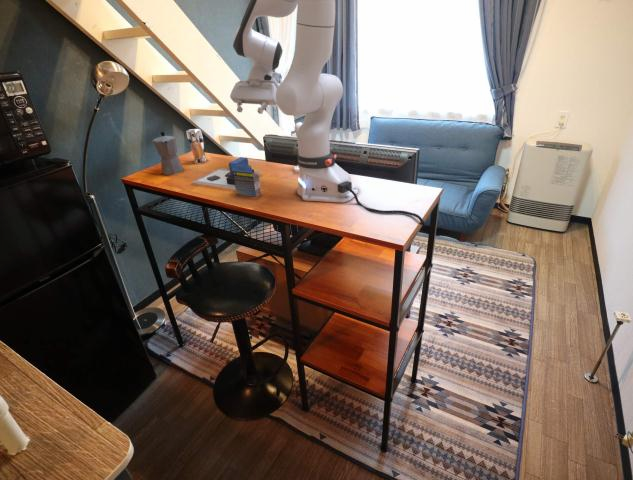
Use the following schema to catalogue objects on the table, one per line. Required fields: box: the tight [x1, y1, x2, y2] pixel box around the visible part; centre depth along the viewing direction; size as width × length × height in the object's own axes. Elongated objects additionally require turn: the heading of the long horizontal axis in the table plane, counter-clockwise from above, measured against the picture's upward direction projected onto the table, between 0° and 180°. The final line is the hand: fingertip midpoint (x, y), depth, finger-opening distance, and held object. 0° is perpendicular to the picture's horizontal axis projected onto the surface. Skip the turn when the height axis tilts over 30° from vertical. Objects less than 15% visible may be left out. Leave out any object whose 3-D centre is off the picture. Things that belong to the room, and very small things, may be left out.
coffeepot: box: [152, 131, 184, 176], centre depth 152 cm, size 15×9×18 cm, turn 27°
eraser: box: [226, 156, 255, 185], centre depth 138 cm, size 5×12×8 cm, turn 154°
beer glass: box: [185, 128, 208, 165], centre depth 163 cm, size 7×7×15 cm
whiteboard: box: [192, 167, 261, 190], centre depth 143 cm, size 22×18×1 cm
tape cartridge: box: [231, 164, 262, 197], centre depth 124 cm, size 9×4×12 cm, turn 65°
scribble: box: [207, 175, 220, 181], centre depth 142 cm, size 4×4×1 cm
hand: (249, 112), depth 137 cm, fingers open, 8 cm apart
